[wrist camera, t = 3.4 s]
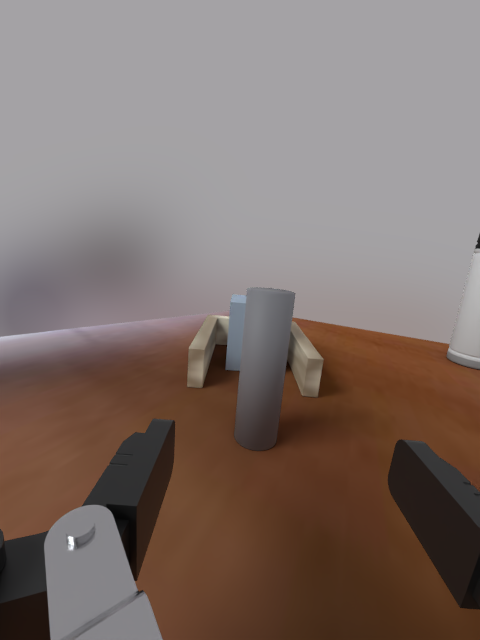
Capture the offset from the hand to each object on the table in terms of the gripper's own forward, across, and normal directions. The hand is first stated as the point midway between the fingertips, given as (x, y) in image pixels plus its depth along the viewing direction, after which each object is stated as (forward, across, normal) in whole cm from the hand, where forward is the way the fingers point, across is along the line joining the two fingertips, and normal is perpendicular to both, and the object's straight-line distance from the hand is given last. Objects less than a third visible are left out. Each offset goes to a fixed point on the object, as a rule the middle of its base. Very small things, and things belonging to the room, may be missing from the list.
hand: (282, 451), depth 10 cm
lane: (+24, 0, +6) cm, 25 cm away
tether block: (+18, 0, +6) cm, 19 cm away
